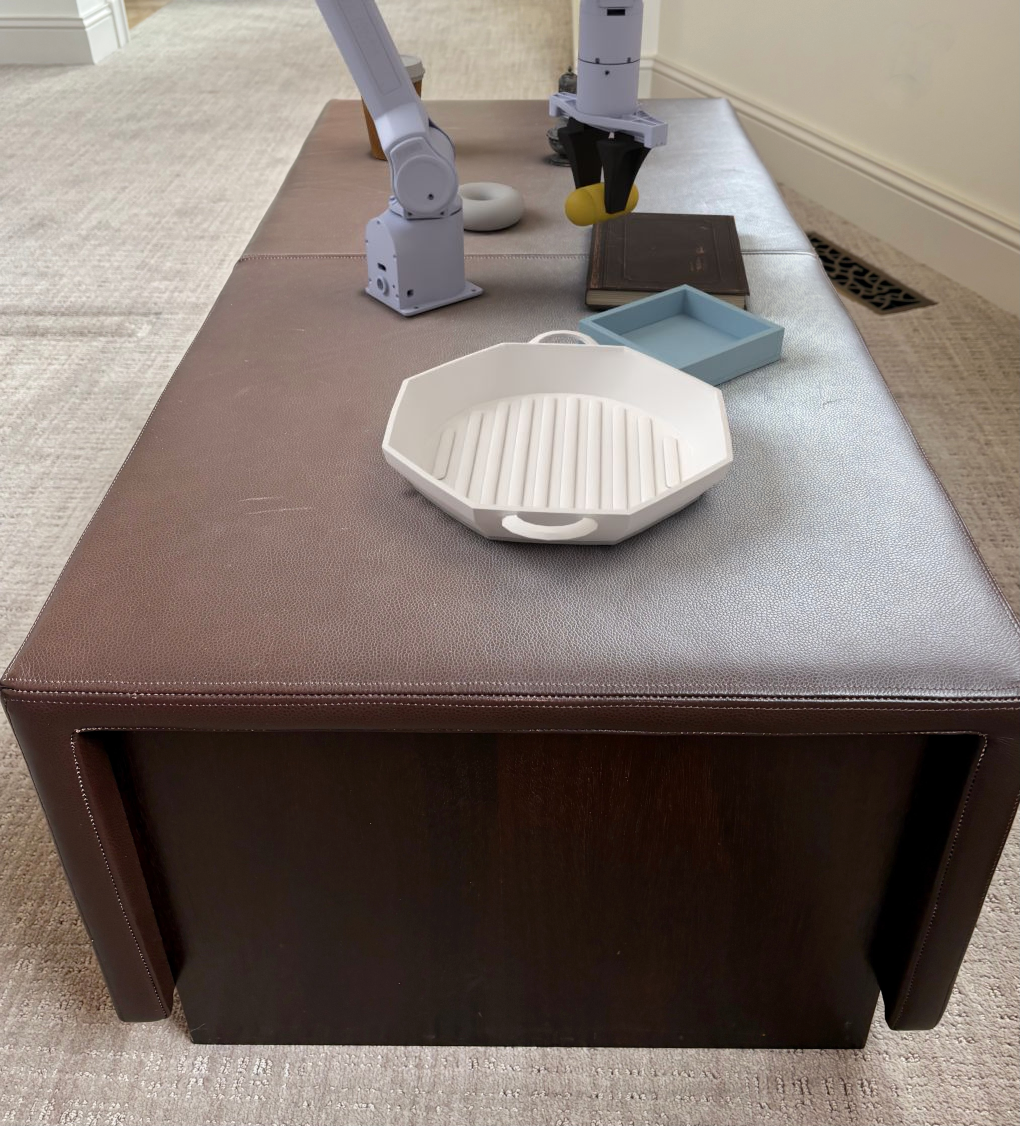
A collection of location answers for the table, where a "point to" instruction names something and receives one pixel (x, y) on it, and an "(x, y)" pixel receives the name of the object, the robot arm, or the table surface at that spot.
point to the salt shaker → (561, 120)
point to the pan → (559, 440)
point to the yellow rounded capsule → (594, 205)
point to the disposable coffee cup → (416, 76)
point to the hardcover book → (664, 258)
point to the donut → (490, 206)
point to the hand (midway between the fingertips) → (601, 206)
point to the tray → (690, 333)
